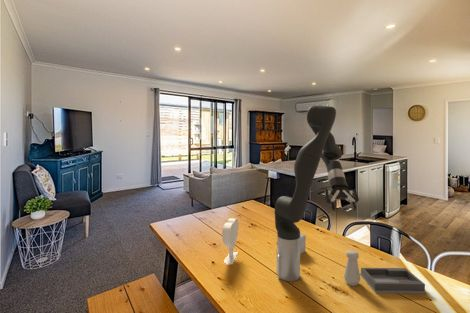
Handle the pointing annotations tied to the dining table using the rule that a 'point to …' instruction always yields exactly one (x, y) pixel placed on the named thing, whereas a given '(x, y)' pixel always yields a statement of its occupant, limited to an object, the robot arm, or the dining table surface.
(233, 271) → the dining table surface
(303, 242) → the medicine box
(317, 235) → the dining table surface
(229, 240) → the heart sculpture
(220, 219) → the dining table surface
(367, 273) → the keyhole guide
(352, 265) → the salt shaker
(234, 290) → the dining table surface
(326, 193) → the robot arm
